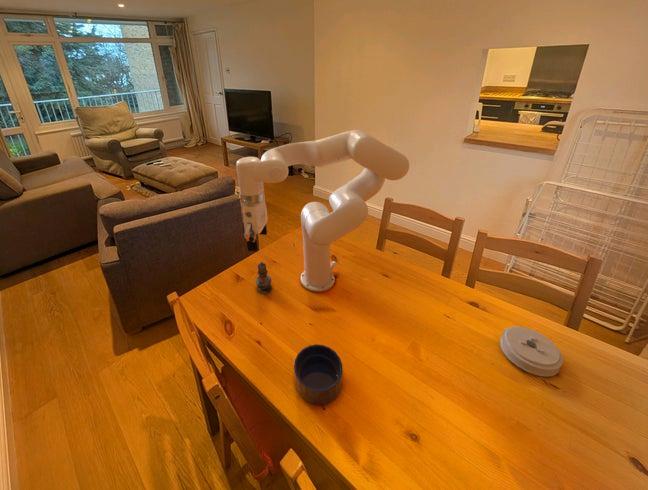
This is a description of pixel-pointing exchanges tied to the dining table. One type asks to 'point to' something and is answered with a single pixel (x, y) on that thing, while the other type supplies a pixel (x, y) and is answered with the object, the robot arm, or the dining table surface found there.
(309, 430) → the dining table surface
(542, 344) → the lid
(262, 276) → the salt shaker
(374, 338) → the dining table surface
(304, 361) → the dark blue round container
